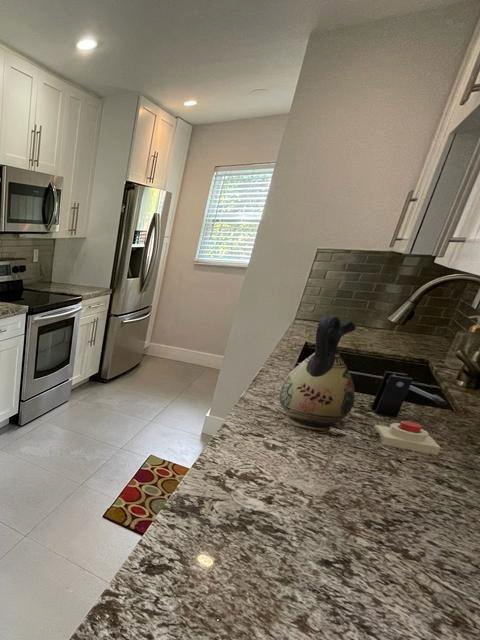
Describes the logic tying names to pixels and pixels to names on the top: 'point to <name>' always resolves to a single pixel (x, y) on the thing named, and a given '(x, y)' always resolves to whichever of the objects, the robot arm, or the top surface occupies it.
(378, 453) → the top surface
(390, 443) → the control block
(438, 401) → the lever
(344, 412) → the ceramic jug
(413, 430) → the button
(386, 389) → the bracket
